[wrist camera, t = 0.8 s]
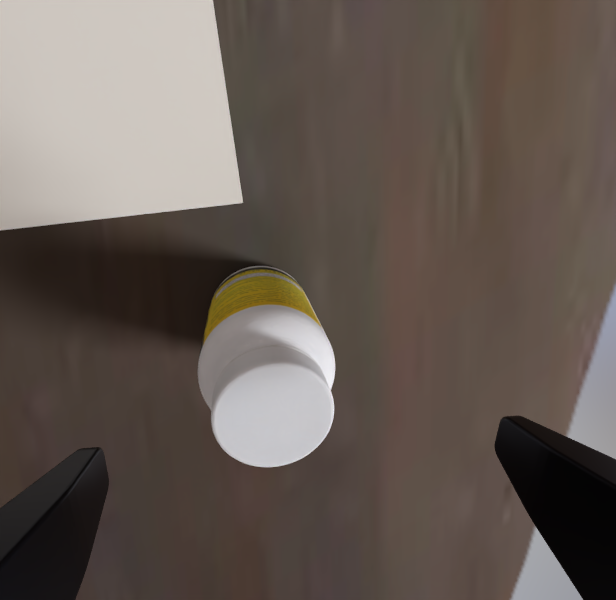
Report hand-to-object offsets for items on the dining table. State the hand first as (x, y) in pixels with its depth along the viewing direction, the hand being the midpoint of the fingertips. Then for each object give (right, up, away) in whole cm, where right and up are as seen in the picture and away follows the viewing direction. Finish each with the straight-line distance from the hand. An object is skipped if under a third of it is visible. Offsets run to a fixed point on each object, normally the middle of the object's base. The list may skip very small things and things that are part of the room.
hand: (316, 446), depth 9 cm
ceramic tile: (-11, +13, +8) cm, 19 cm away
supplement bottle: (-3, +3, +13) cm, 13 cm away
